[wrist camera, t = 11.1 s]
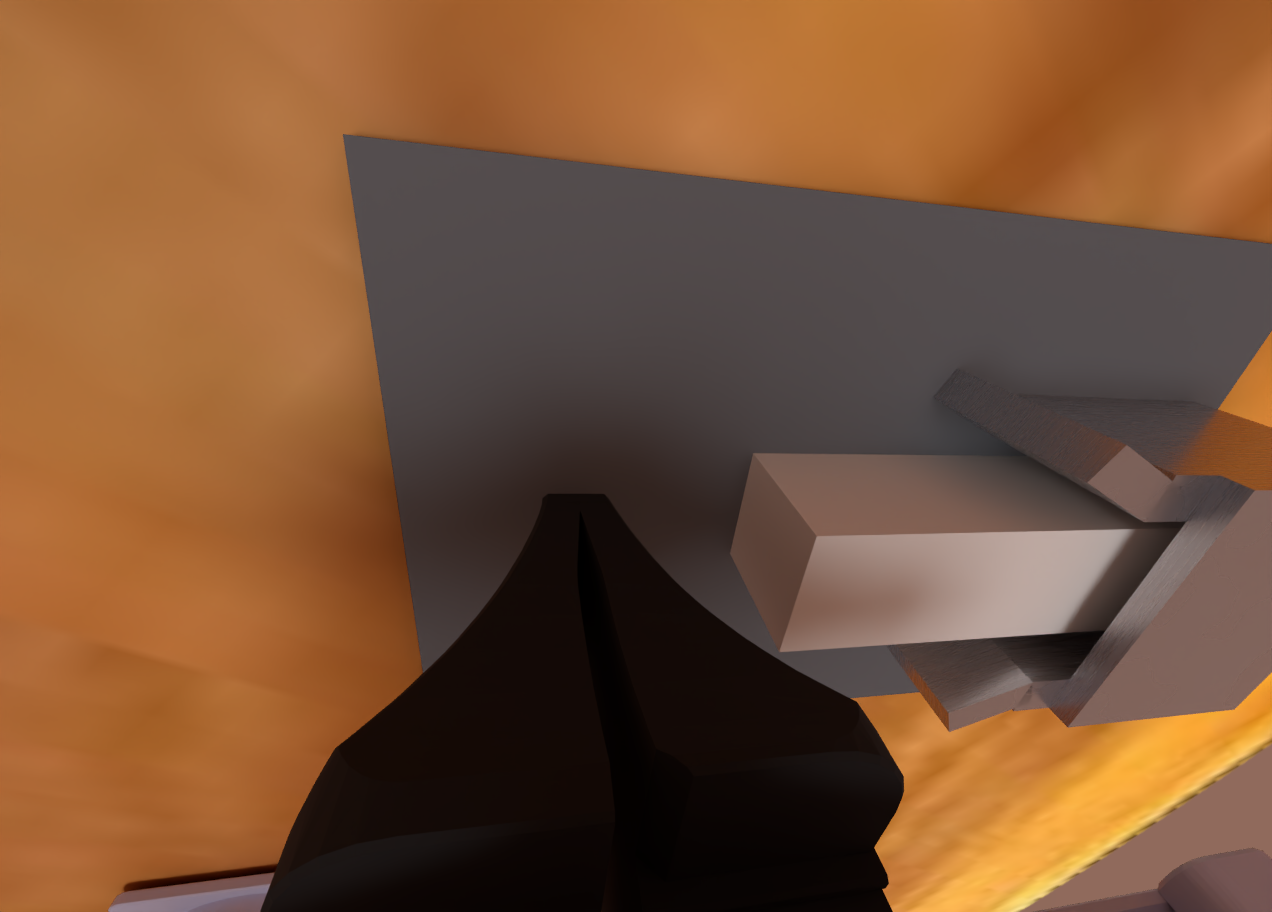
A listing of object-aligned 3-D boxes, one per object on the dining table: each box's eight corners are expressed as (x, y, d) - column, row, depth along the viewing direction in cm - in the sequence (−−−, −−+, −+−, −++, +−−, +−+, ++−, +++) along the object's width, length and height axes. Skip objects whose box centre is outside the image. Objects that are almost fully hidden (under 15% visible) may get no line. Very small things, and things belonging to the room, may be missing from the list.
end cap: (1063, 598, 16) (1219, 723, 13) (848, 609, 15) (951, 754, 11) (1206, 380, 13) (1482, 463, 9) (944, 367, 12) (1141, 459, 8)
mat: (1020, 673, 19) (1029, 682, 19) (434, 721, 15) (432, 734, 15) (1304, 248, 12) (1327, 250, 12) (351, 136, 8) (342, 134, 8)
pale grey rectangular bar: (729, 553, 13) (779, 652, 10) (753, 453, 12) (816, 535, 9) (1073, 543, 15) (1190, 624, 12) (1127, 457, 14) (1273, 526, 11)
